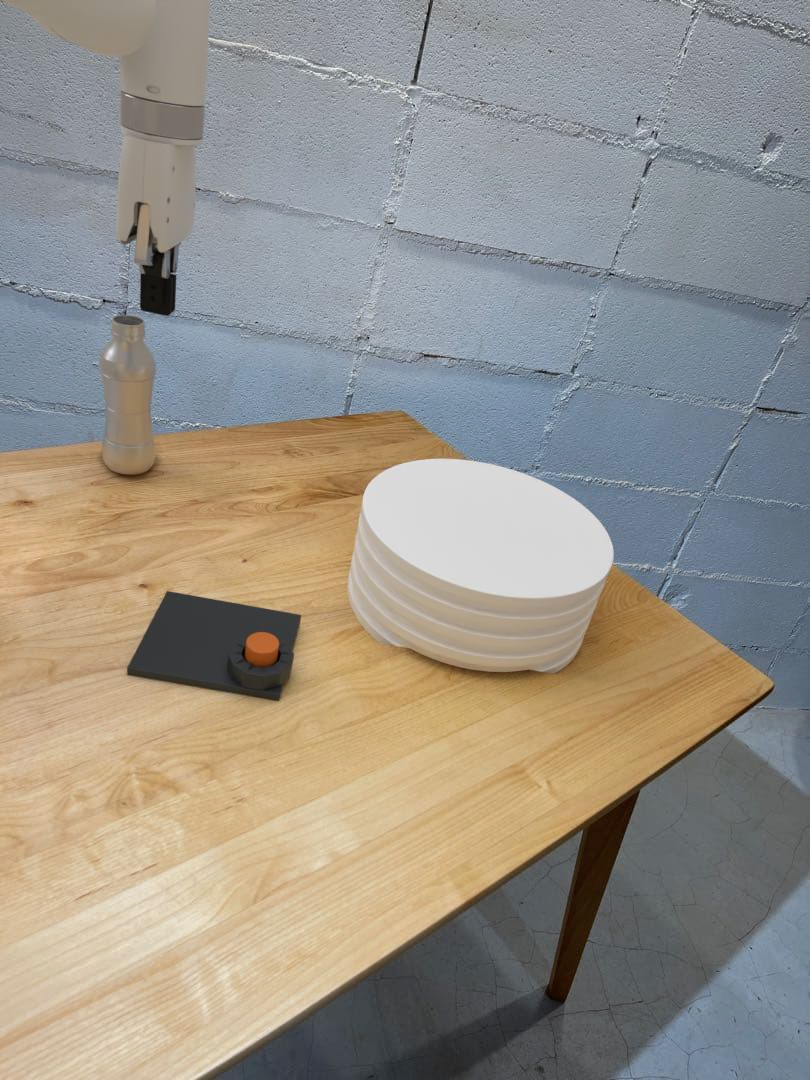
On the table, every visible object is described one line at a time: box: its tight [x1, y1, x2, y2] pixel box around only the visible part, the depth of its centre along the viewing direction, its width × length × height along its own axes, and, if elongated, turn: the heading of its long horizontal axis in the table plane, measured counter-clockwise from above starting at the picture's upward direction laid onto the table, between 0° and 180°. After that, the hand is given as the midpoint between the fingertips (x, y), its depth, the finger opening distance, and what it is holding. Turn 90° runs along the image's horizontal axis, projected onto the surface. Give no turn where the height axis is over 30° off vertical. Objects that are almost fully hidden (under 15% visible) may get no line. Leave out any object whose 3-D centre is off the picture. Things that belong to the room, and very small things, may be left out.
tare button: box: [245, 632, 279, 667], centre depth 76 cm, size 3×3×2 cm
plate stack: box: [346, 458, 615, 675], centre depth 92 cm, size 28×28×12 cm
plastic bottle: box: [99, 314, 157, 476], centre depth 101 cm, size 6×7×20 cm
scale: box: [126, 590, 302, 702], centre depth 79 cm, size 14×12×4 cm
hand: (157, 310), depth 86 cm, fingers closed
